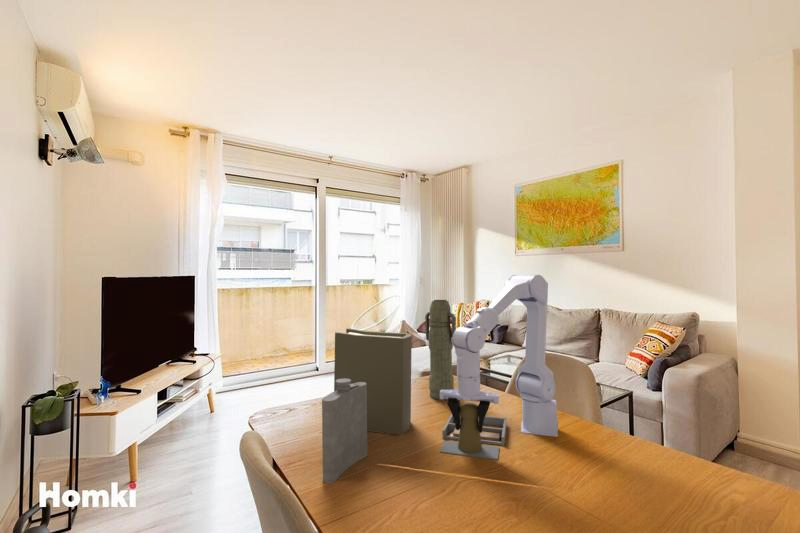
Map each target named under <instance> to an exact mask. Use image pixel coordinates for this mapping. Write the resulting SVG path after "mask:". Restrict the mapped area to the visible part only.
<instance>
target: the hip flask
mask: <svg viewBox="0 0 800 533" xmlns="http://www.w3.org/2000/svg"><path fill="white" fill-rule="evenodd" d="M336 385H337V388H336V389H337V390H336V391H334V390H333V392H331V393H329V394H327V395H326V396H324V397H323V398H321V417H322V418H321V422H322V423H321V424H322V425H321V431H322V433H321V436H322V437H321V438H322V441H321V442H322V481H323V482H324V483H328V484H330V483H334V482H336V481H337V480H338V479H339V478H340V476H342V474H343V473H345V472H346V471H347V470H348V469H349V468H350V467H351V466H353V465H354V464H355V463H358V461H360V460H362V459H363V458H365V457H366V456H368V431H367V384H366V383H365V382H357V383H354V384H351V379H346V378H344V379H337V380H336Z"/></svg>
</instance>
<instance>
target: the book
mask: <svg viewBox="0 0 800 533" xmlns="http://www.w3.org/2000/svg"><path fill="white" fill-rule="evenodd" d="M345 331H346V332H340V331H335V332H334V370H333V371H334V372H333V373H334V374H333V375H334V376H333V378H334V380H333V392H334V391H336V390H337V389H336V388H337V385H336V380H337V379H344V378H346V379H351V384H354V383H357V382H365V383H366V384H367V432H374V433H375V432H376V433H383V434H388V435H394V436H398V435H403V434H405V433H407V432H408V431H409V429H410V428H411V426H412V424H411V423H412V422H411V420H412V416H411V415H412V414H411V413H412V406H411V405H412V398H411V397H412V338H413V336H412V335H413V334H412V333H410V332H409V333H407V332H405V333H404V332H389V331H388V332H386V331H384V332H383V331H369V330H368V331H367V330H361V329H356V328H350V327H347V328H345Z"/></svg>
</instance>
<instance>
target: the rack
mask: <svg viewBox="0 0 800 533" xmlns="http://www.w3.org/2000/svg"><path fill="white" fill-rule="evenodd" d="M507 421H508V420H507V417H497V416H489V415H485V418H484V422H483V425H488V426H483V430H482V431H485V432H494V433H500V438H501V441H499V442H498V441H489V440H481V444H485V445H493V446H505V441H506V435H507V434H506V433H507V427H508V424H507V423H508V422H507ZM478 423H479V417H478ZM460 425H461V416H460ZM490 426H498V427H499V428H498V427H490ZM500 427H502V428H500ZM455 428H456V425H455V421H454V418H453V415H452V413H450V415H449V417H448V419H447V421H446V423H445V425H444V427H443V428H442V430H441V432H442V440H443V439H445V440H450V441H452V440H453V441H459V437H455V436H450V435H448V433H449V432H450V433H451V432H454V430H455Z"/></svg>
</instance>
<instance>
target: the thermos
mask: <svg viewBox="0 0 800 533" xmlns="http://www.w3.org/2000/svg"><path fill="white" fill-rule="evenodd" d="M424 322H425V338H426V341H428V349H429V362H430V363H429V367H430V368H429V369H430V374H429V378H428V387H429V388H428V389H429V398H430V399H433V400H437V401H438V400H439V401H445V400H447V401H448V399H440V391H441V390H455V387H454V386H455V383H454V382H455V381H454V380H455V379H454V376H453V360H452V359H453V358H452V354H453V352H452V351H453V349H454V346H453V344H452V341H451V338H453V334H454V332H455V330H456V329H457V317H456V315H455V314H454V313H452V312H451V306H450V302H449V301H448V300H447V299H434V300H431V303H430V306H429V312H426V314H425V318H424Z"/></svg>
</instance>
